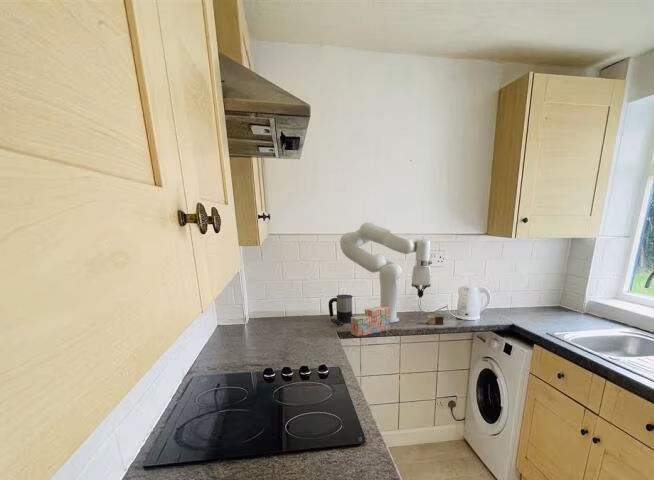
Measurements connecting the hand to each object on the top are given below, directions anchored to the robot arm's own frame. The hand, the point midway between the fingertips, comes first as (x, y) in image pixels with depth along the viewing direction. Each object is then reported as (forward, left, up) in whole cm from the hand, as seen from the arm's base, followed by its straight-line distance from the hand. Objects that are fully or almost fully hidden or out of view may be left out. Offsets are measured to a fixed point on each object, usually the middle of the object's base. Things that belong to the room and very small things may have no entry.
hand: (420, 297), depth 229 cm
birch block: (+7, 0, -15) cm, 17 cm away
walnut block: (+11, 0, -15) cm, 19 cm away
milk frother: (-45, +1, -15) cm, 47 cm away
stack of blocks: (-28, -18, -15) cm, 36 cm away
